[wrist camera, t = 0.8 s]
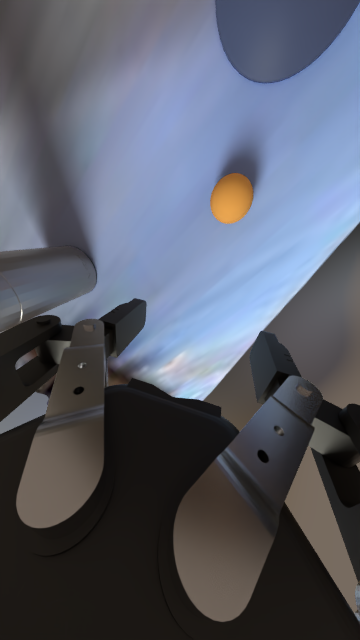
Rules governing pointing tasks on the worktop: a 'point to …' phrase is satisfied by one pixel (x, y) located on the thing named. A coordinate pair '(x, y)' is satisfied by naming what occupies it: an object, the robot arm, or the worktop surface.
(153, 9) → the worktop surface
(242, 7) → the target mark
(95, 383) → the robot arm
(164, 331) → the worktop surface
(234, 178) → the ball
